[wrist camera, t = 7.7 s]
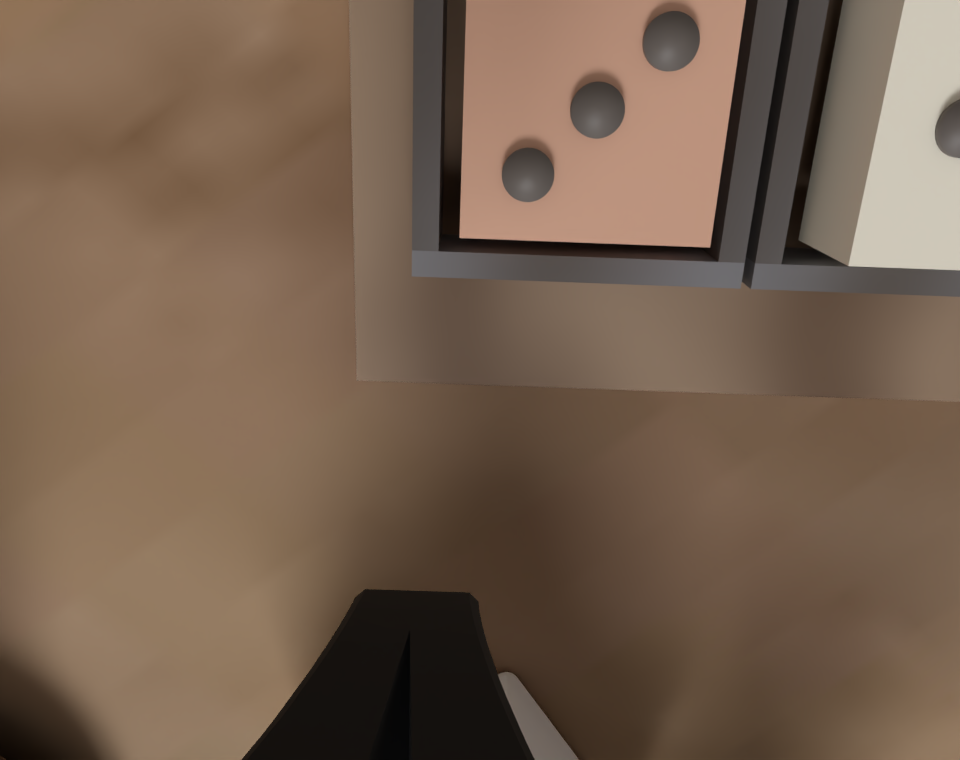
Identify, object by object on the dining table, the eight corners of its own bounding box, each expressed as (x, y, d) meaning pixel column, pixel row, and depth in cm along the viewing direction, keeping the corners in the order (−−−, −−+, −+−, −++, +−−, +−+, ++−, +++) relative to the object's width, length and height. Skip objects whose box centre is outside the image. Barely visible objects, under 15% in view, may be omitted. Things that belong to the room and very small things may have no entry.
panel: (1516, -196, 15) (1774, -263, 12) (1263, 389, 19) (1406, 447, 16) (356, -251, 15) (324, -333, 12) (365, 358, 19) (344, 410, 16)
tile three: (712, -19, 15) (754, -36, 12) (680, 225, 16) (712, 249, 14) (469, -29, 14) (467, -48, 12) (461, 216, 16) (459, 239, 14)
